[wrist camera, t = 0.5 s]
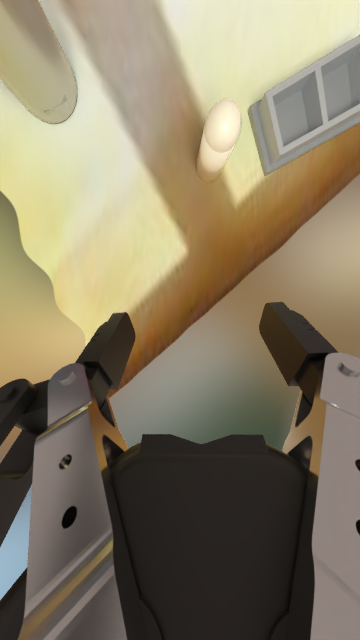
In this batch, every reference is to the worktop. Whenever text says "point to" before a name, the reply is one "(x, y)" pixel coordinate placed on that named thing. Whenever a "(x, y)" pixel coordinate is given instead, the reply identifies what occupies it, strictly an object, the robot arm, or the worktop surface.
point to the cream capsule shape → (218, 139)
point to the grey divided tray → (308, 108)
